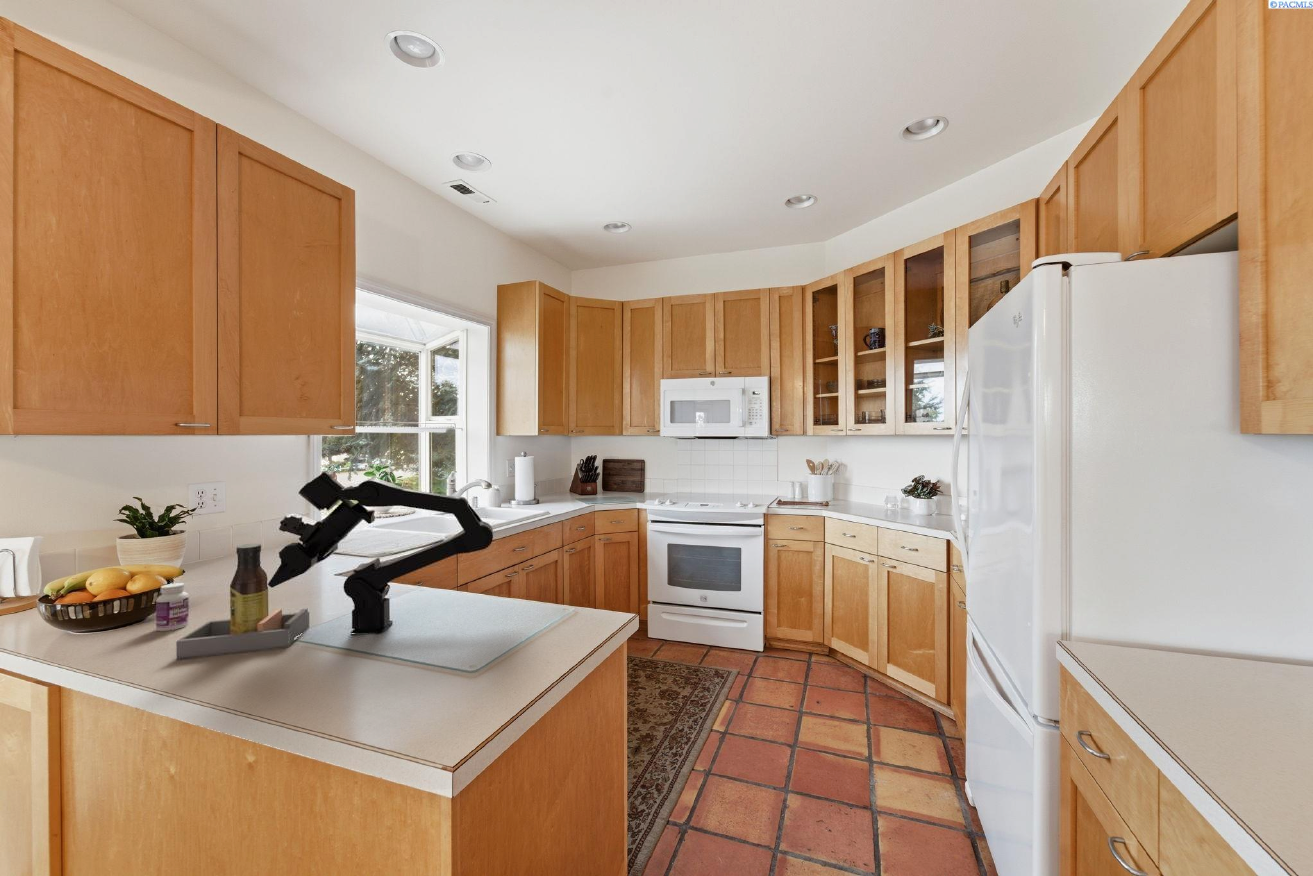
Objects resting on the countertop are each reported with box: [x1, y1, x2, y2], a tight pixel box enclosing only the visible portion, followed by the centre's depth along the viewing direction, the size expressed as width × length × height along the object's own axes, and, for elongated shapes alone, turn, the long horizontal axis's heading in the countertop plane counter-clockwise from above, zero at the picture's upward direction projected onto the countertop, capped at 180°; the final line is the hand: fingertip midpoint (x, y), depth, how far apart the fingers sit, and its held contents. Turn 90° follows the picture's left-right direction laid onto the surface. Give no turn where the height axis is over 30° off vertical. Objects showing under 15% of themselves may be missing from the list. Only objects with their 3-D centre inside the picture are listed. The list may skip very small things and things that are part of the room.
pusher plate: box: [257, 608, 283, 632], centre depth 109 cm, size 1×9×4 cm, turn 17°
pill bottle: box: [155, 582, 190, 632], centre depth 117 cm, size 5×5×10 cm
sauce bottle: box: [229, 543, 269, 634], centre depth 108 cm, size 6×6×20 cm
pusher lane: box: [175, 608, 310, 660], centre depth 107 cm, size 18×12×4 cm, turn 107°
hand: (279, 580), depth 109 cm, fingers open, 9 cm apart
